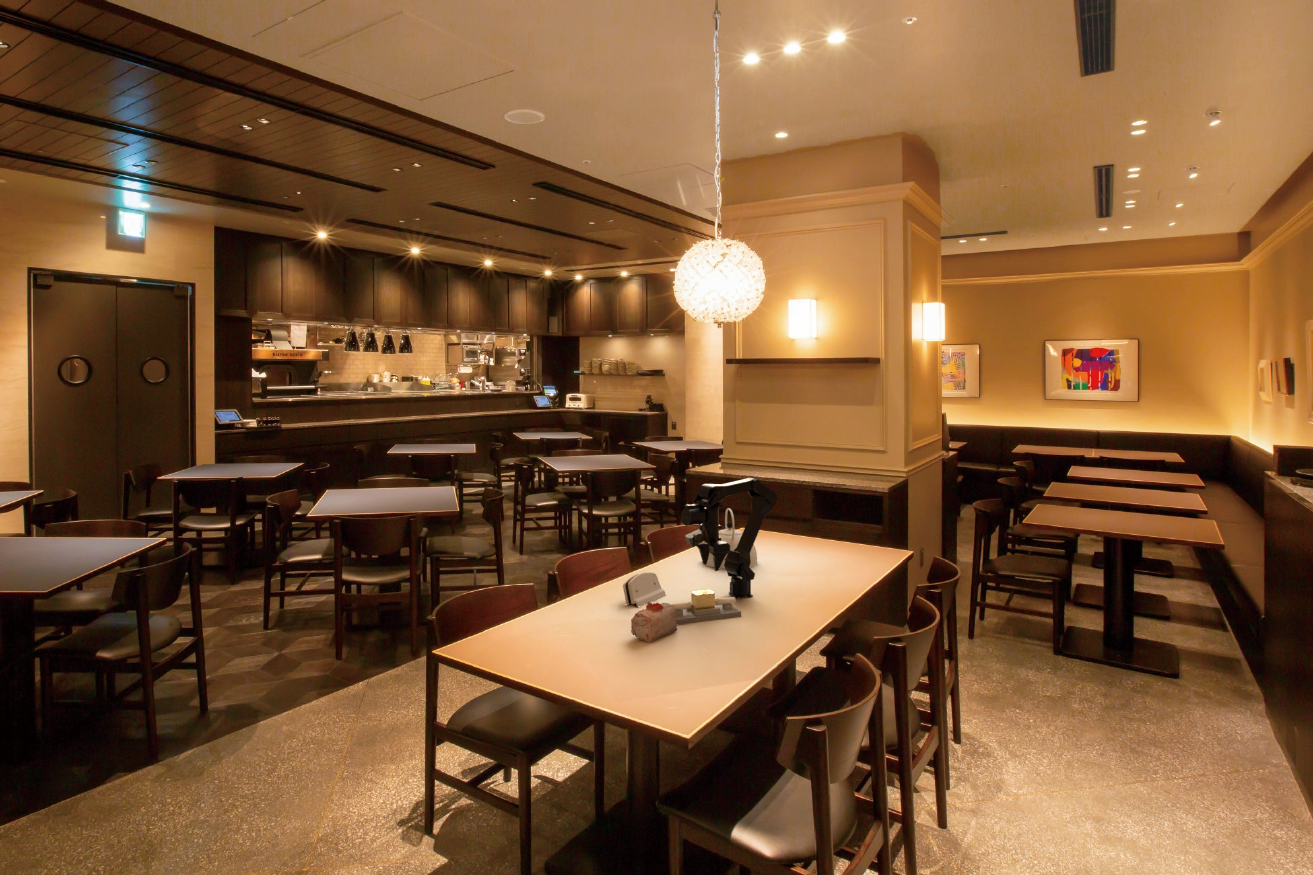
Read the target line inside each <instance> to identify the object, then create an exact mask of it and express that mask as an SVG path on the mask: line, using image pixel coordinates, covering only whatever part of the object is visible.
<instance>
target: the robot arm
mask: <svg viewBox="0 0 1313 875" xmlns="http://www.w3.org/2000/svg"><path fill="white" fill-rule="evenodd" d="M741 493H748V495H749V496H750V497H751V512H750V515H749V517H748V519H747V522H746V525H745V527H744V529H743V531H742V532H743V534H742V536H741V538H740V541H739V543H738V546H737V547H736V549H734V550H733V551H732V550H731V546H730V545H729V544H728V543H727V542H725V541H721V537H719V531H720V530H722V525H720V520H719V518H720V514H719V512H720V509H723V508H725V506H724V504H722V503H721V502H722V501H724V500H725V498H727V497H729V496H733V495H739V494H741ZM777 502H778V495H777V493H776V492H775V491H774V490H772V489H770V488H769V487H767V486H766V485H764V484H763V483H761V481H759V480H758V479H757V478H753V477H747V478H744V479H740V480H735V481H731V482H727V483H722V484H718V483H716V484H714V483H704V484H702V485H700V488H699V490H698V491H697V494H696V496H695V497H694V498H693V500H692V504H685V505H684V508H683V509H682V511H681V514H680V520H681V522H682V524H683V525H684V526H686V527H689V526H694V525H695V526H696V525H698V529H696V530H694V531H691V532H690V533H688V534H685V540H686V542H687V545H688V546H691V547H693V548H694V547H696V548H697V549H698V552H699V554H700V557H701V563H702V562H703V563H702V564H703V565H704V566H706V565H705V564H707V561H708V557H709V553H710V554H711V555H712V556H713V561H714V568H713V569H714V571H715V572H718V571H719V570H720V569H719V568H720V566H721V564H722V562H723V560H725V563H724V566H725V569H724V570H725V571H726V572H727V576H728V577H730V582H729V591H728V594H729V595H731V597H735V599H742V598H751V597H752V598H753V596H754V595H753V594H752V592H751V590H752V589H751V588H752V587H751V586H752V585H751V584H752V582H751V581H753V580H754V579H755V576H756V572H754V570H752V568H750V563H751V559H750V552H751V549H752V547H753V544H754V545H755V541H756V540H757V537H758V535H759V533H760V529H761V527H762V525H763V523H764V520H765V518H766V516H767V515H768V514H769V513H770V512H772V511H773V509H774V508H775V506H776V505H777ZM718 541H719V542H718ZM710 551H711V552H710ZM727 553H728V554H727ZM726 555H727V557H726V558H725V556H726ZM724 558H725V559H724Z"/></svg>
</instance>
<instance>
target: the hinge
mask: <svg viewBox="0 0 1313 875" xmlns="http://www.w3.org/2000/svg"><path fill="white" fill-rule="evenodd" d="M622 588H623V589H622V590H623V593H624V599H625V605H626V604H627V605H626V606H629V605H634V604H636V607H637V606H640V607H643V606H644V604H645V605H647V603H648V601H649V602H650V603H652V602H654V601H657V600H658V598H659V599H661V598H664V597H665V596H666V595H667V594H666V591H665V590H664V589H663V588H662V586H661V584H660V581H659V578H658V576H657V574H656V573H655V572H641V573H638V574H634V575H633V576H631V577H630V578H628V579H627V580H625V582H624V583H623V585H622ZM663 596H664V597H663ZM653 600H654V601H653ZM642 605H643V606H642Z"/></svg>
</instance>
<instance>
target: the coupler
mask: <svg viewBox="0 0 1313 875" xmlns="http://www.w3.org/2000/svg"><path fill="white" fill-rule="evenodd" d="M690 592H691V594H690V596H691V599H690V603H691V610H692V611H693V612H694V610H701V609H709V608H715V599H716V597H715V596H716V593H715V592H714V591H712V590H711V589H705V590H704V589H703V590H695V591H694V590H693V591H690Z"/></svg>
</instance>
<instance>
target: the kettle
mask: <svg viewBox="0 0 1313 875" xmlns="http://www.w3.org/2000/svg"><path fill="white" fill-rule="evenodd" d="M728 511H729V512H730V516H731V521H728ZM734 516H735V515H734V513H733V510H732V509H731V508H730V507H729V508H726V509H725V515H724V527H725V528H724V529H719V537H721V541H725V542H727V543H728V544H729V545H730V546H731V550H732V551H733V550H734V549H736V547H737V546H738V543H739V541H740V538H741V536H742V534H743V531H741V530H739V529H735V517H734ZM718 542H719V541H718ZM710 552H711V551H710ZM727 554H728V553H727ZM726 557H727V555H726V556H725V558H726ZM725 558H724V559H725ZM750 559H751V563H750V567H751V568H753V566H754V565H756V566H757V565H758V553H757V549H756V546H755V543H754V544H753V547H752V549H751V552H750ZM701 563H702V564H703V562H702V561H701ZM724 563H725V560H723V562H722V564H721V566H720V569H719V570H725V566H724ZM706 565H707V566H706ZM704 566H706V567H708V566H709V568H712V567H714V561H713V556H712V555H711V554H710V553H709V557H708V561H707V564H705V565H704ZM754 567H755V566H754Z"/></svg>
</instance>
